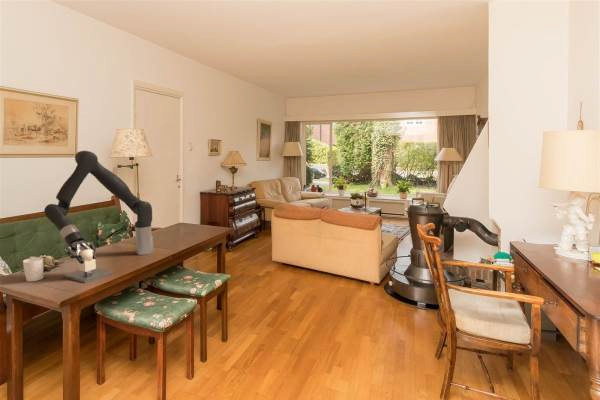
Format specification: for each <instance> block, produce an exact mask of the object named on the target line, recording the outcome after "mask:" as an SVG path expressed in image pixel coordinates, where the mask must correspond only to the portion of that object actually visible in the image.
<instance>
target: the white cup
mask: <svg viewBox="0 0 600 400" xmlns="http://www.w3.org/2000/svg"><path fill="white" fill-rule="evenodd" d="M36 257H37V258H30V259H29V258H26V259H24V260H22V263H23V264H22V265H23V272H24V276H25V280H26V282H28V283H29V282H36V281H40V280H43V279H44V269H43V258H41V257H39V256H36Z"/></svg>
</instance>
